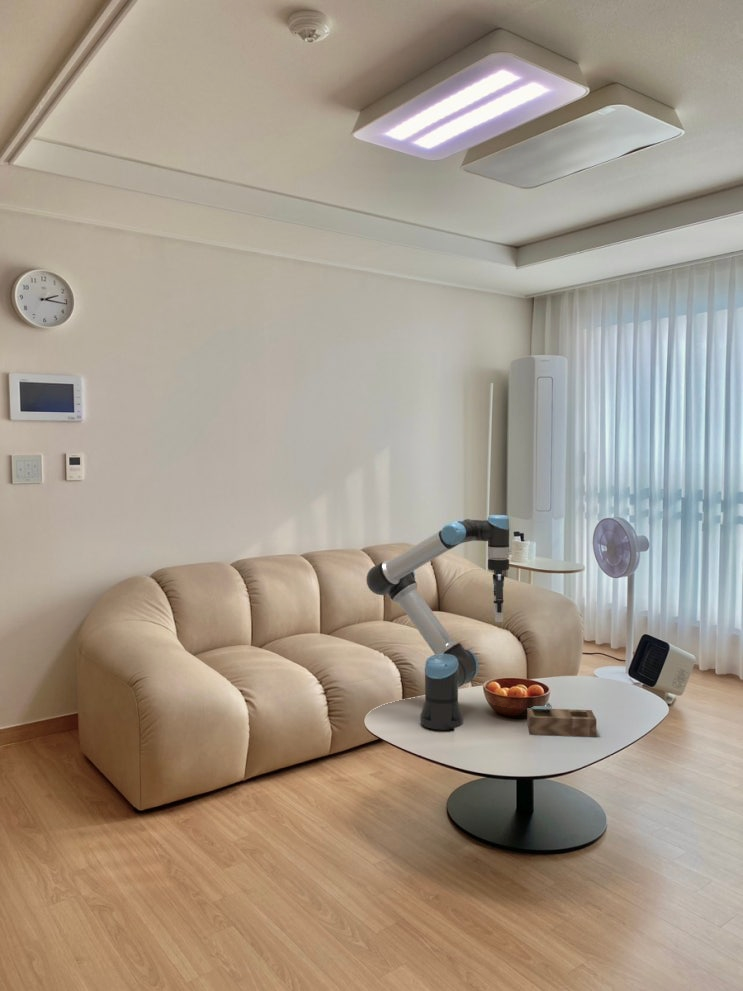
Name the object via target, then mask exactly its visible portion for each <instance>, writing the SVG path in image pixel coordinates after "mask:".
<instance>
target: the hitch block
mask: <svg viewBox="0 0 743 991" xmlns="http://www.w3.org/2000/svg"><path fill="white" fill-rule="evenodd" d="M526 712H527V714H526V715H527V716H526V717H527V718H526V720H527V721H526V722H527V730H528V733H529V734H528V735H529V736H530V735H531V736H558V737H578V738H579V737H580V738H581V737H583V738H588V737H589V738H597V718H596V716H595V714H594V712H593V710H592V709H570V708H569V709H567V708H566V709H564V708H563V709H562V708H552V710H532V709H531V708H527V711H526Z"/></svg>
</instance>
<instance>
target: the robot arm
mask: <svg viewBox="0 0 743 991" xmlns="http://www.w3.org/2000/svg"><path fill="white" fill-rule="evenodd" d="M510 527H511V526H510V519H509V517H508V515H506V514H504V515H503V514H498V515H497V514H491V515H488V517H487V520H486V519H485V520H481V519H469V518H466V519H459V520H458V521H453V522H449V523H447V524H444V526H443V527H442V529H440V530H439V531H437V532H436V533H433V534H432V535H431V536H428V537H427V538H425V539H424V540H422V541H420V542H419V543H417V544H415V545H414V546H412V547H410V548H409V549H408V550H406V551H404V552H402V553H401V554H399V555H397V556H396V557H394V558H393V559H391V560H388V559H387V560H383V561H382V562H380V563H379V564H376V565H374V566H372V567H371V568H370V569H369V570H368V572H367V575H366V577H365V578H366V585H367V588H368V589H369V590H370V592H372V593H373V594H375V595H378V596H386V595H388V597H389V598H390V600H391V601H392V602H393V603H398V604H399V605H400V607H401V608H402V610H403V611H404V613H405V614H406V615H407V617H408V619H410V621H411V622H412V624H413V626H414V627H415V628H416V630H417V631H418V632H419V633H420V635H421V637H422V638H423V639H424V641H425V642H426V643H427V645H428V647H429V648H430V649H431V651H432V652H433V653H434V655H431V656H430V657H428V658H427V659H426V660H425V665H424V666H425V667H424V691H425V693H424V694H425V696H424V697H425V698H424V704H423V705H422V706H423V707H422V710H421V713H420V717H419V720H420V722H421V723H420V724H421V726H423V725H424V727H426V728H429V729H433V730H453V729H454V730H455V729H457V728H459V727H461V726H462V725H463V724H464V717H463V713H462V710H461V707H460V704H459V688H460V687H462V686H464V685H466V684H468V683H470V682H471V681H473V680H474V679H475V678H476V676H478V674H479V671H480V670H479V669H480V668H479V667H480V664H479V659H478V658H477V655H475V654H476V653H475V652H473V651H471V650H469V649H465V648H464V647H463V645H462V644H461V643H460V642H459V641H455V640H453V638H452V637H451V635H450V634H449V632H448V631H447V629H446V628H445V627H444V626H443V624H442V623H441V621H440V619H438V617H437V616H436V614H435V613H434V612H433V610H432V609H431V607H430V606H429V604H428V603H427V602H426V601H425V599H424V598H423V597H422V595H421V594H420V592H419V591H418V586H419V585H418V583H417V581H416V574H415V571H416V570H418V569H419V568H422V566H424V565H426V564H427V563H429V562H431V561H432V560H435V559H436V558H437V557H440V556H441V555H443V554H445V553H446V552H448V551H450V550H452V549H454V548H455V547H457V546H459V545H461V544H464V543H467V542H475V541H476V542H477V541H478V542H487V558H488V559H487V569H488V570H490V571H493V574H492V584H493V615H494V621H495V622H496V623H503V622H504V587H505V586H504V585H505V583H504V582H505V574H503V571H508V570H510V559H509V557H510V553H511V552H512V550H511V548H510V530H511V529H510Z"/></svg>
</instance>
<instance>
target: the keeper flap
mask: <svg viewBox="0 0 743 991" xmlns="http://www.w3.org/2000/svg"><path fill="white" fill-rule="evenodd" d="M531 709H532V710H552V709H553V705H551V706H533V707H531Z"/></svg>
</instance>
